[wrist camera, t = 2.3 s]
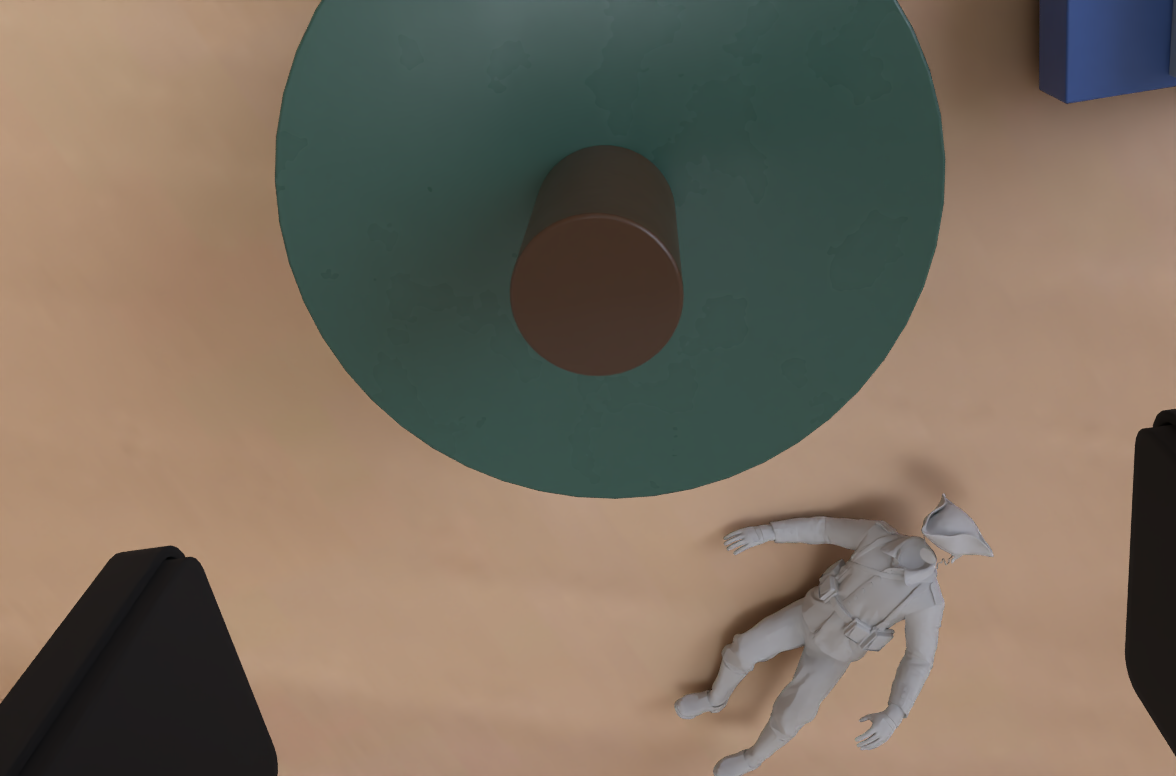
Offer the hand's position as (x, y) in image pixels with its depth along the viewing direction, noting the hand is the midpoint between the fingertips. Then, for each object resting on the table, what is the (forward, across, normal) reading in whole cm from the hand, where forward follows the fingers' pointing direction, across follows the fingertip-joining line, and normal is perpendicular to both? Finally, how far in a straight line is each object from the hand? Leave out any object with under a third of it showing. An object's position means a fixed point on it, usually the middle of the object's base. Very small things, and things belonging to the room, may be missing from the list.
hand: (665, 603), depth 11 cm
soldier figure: (+21, -3, +16) cm, 27 cm away
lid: (+13, +1, -1) cm, 13 cm away
